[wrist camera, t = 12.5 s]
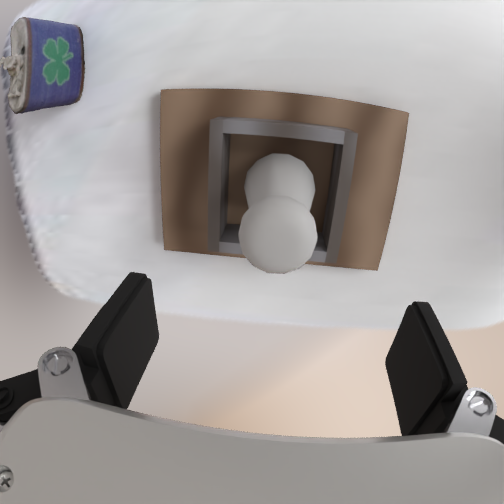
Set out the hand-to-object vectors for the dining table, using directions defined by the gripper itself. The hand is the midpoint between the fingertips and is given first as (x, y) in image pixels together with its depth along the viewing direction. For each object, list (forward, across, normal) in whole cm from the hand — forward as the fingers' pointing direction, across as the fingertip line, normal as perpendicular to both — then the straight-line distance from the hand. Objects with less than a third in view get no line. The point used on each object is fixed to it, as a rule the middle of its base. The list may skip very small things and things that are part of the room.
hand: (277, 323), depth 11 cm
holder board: (+21, +1, 0) cm, 21 cm away
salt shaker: (+19, 0, 0) cm, 19 cm away
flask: (+21, +22, -12) cm, 33 cm away
